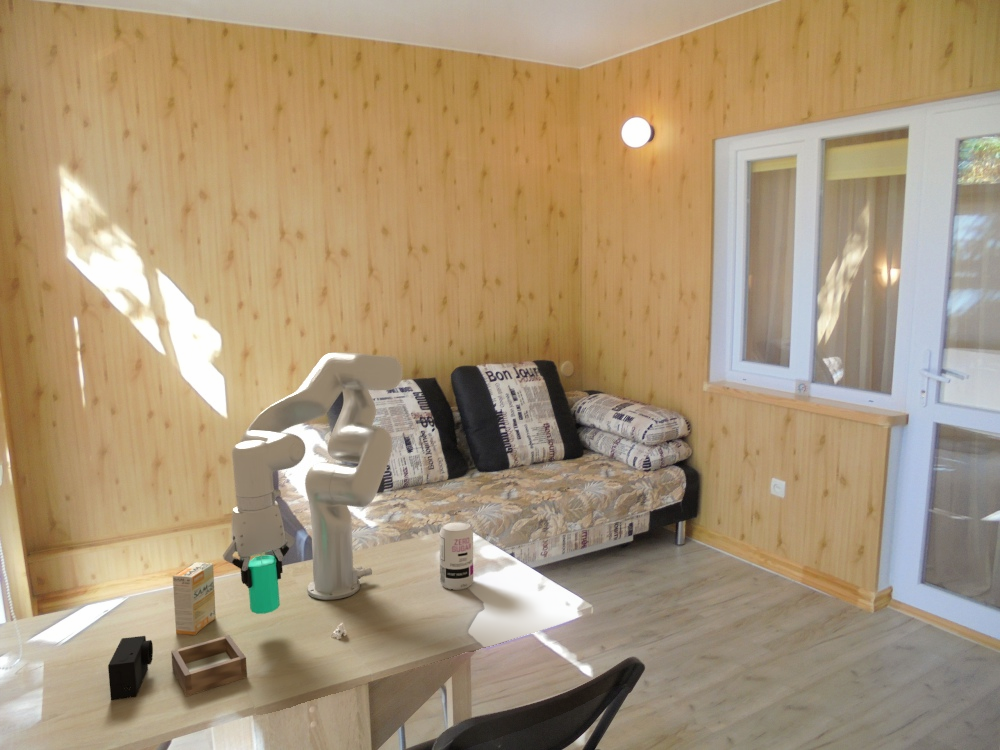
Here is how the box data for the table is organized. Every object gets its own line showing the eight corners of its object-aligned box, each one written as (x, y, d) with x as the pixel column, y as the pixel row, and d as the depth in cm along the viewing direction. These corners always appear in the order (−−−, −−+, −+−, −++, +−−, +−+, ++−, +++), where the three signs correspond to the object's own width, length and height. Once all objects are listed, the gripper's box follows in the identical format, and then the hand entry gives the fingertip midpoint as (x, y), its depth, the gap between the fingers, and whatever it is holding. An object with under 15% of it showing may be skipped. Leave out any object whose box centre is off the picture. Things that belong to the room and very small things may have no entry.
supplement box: (195, 636, 158) (191, 577, 156) (175, 633, 159) (171, 575, 157) (217, 618, 166) (214, 562, 165) (198, 616, 167) (194, 561, 165)
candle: (271, 597, 163) (267, 546, 161) (284, 606, 159) (280, 553, 156) (245, 607, 159) (240, 554, 157) (258, 616, 155) (254, 562, 152)
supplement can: (454, 574, 190) (453, 518, 188) (480, 582, 185) (479, 524, 183) (433, 585, 183) (432, 527, 181) (459, 594, 179) (458, 534, 177)
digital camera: (143, 696, 136) (140, 661, 135) (110, 701, 134) (107, 664, 134) (154, 667, 146) (152, 634, 145) (124, 671, 144) (121, 637, 143)
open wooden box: (230, 653, 151) (229, 634, 150) (247, 677, 142) (246, 657, 142) (172, 670, 145) (171, 651, 144) (186, 696, 136) (185, 675, 135)
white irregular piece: (341, 641, 157) (340, 627, 156) (330, 639, 157) (329, 625, 157) (348, 634, 160) (347, 621, 159) (337, 633, 160) (337, 619, 160)
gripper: (289, 486, 162) (295, 564, 165) (208, 504, 152) (216, 586, 156) (302, 496, 156) (308, 576, 159) (218, 515, 146) (226, 600, 150)
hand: (262, 580), depth 158 cm, fingers closed on candle, 5 cm apart
